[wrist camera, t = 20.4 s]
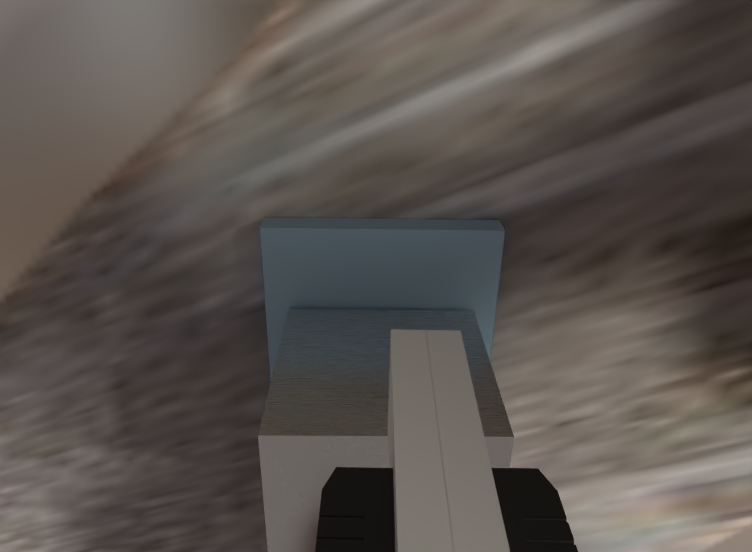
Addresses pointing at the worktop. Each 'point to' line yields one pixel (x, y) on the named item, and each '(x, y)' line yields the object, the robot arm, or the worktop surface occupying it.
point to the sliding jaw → (348, 407)
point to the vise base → (380, 267)
